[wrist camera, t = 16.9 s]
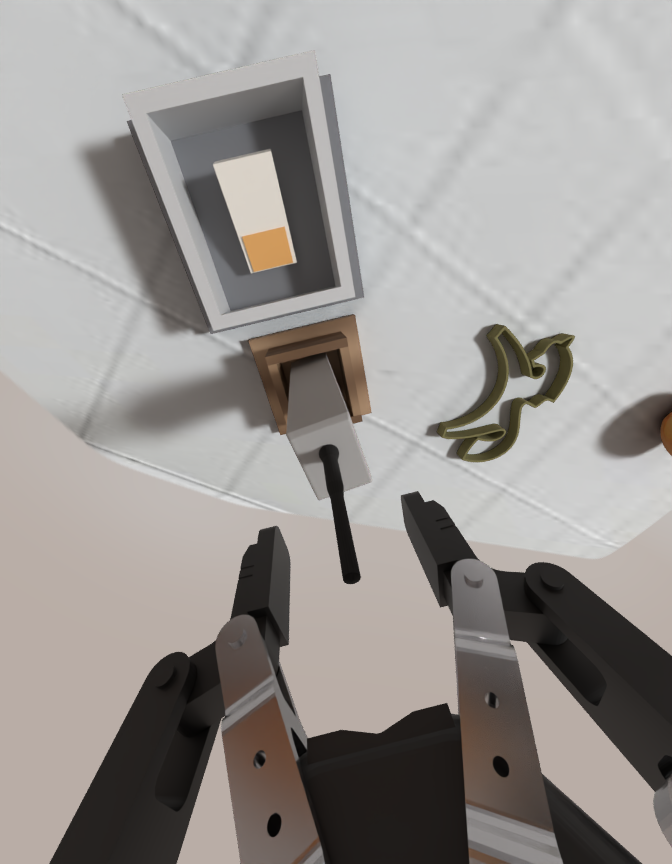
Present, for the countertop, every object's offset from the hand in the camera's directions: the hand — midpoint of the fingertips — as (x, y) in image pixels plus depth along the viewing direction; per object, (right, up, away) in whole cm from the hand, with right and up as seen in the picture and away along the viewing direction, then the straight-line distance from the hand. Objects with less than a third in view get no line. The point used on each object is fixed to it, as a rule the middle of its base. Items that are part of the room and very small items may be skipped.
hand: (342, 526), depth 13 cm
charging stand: (-3, +10, +20) cm, 23 cm away
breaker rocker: (-6, +21, +10) cm, 24 cm away
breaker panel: (-7, +22, +14) cm, 27 cm away
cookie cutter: (+20, +9, +25) cm, 33 cm away
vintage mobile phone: (-3, +10, +20) cm, 22 cm away
